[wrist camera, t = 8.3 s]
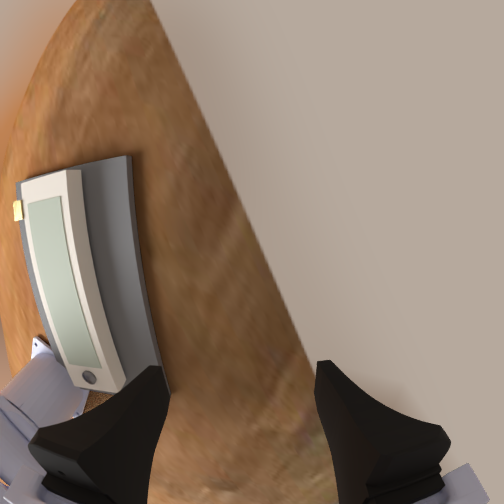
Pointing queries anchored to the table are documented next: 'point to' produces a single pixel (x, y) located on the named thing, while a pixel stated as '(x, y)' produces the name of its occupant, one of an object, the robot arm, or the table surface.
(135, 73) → the table surface
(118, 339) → the board
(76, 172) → the frame
